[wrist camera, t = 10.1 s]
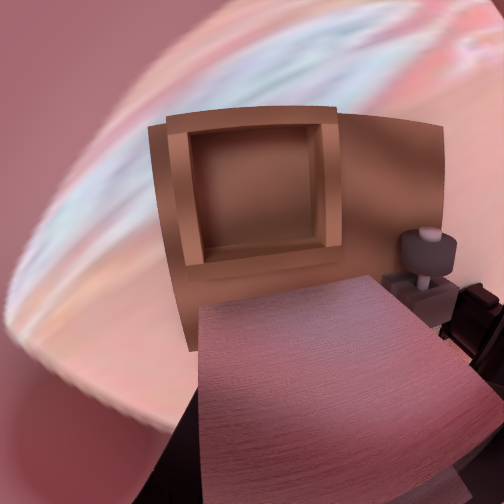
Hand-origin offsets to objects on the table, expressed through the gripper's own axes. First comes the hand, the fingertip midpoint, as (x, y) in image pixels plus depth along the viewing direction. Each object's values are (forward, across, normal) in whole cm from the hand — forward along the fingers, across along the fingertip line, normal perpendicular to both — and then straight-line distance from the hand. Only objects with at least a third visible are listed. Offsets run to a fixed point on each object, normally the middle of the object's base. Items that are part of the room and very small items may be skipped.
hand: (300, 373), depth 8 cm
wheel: (+11, -13, +2) cm, 17 cm away
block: (+1, 0, 0) cm, 1 cm away
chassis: (+12, -6, 0) cm, 13 cm away
